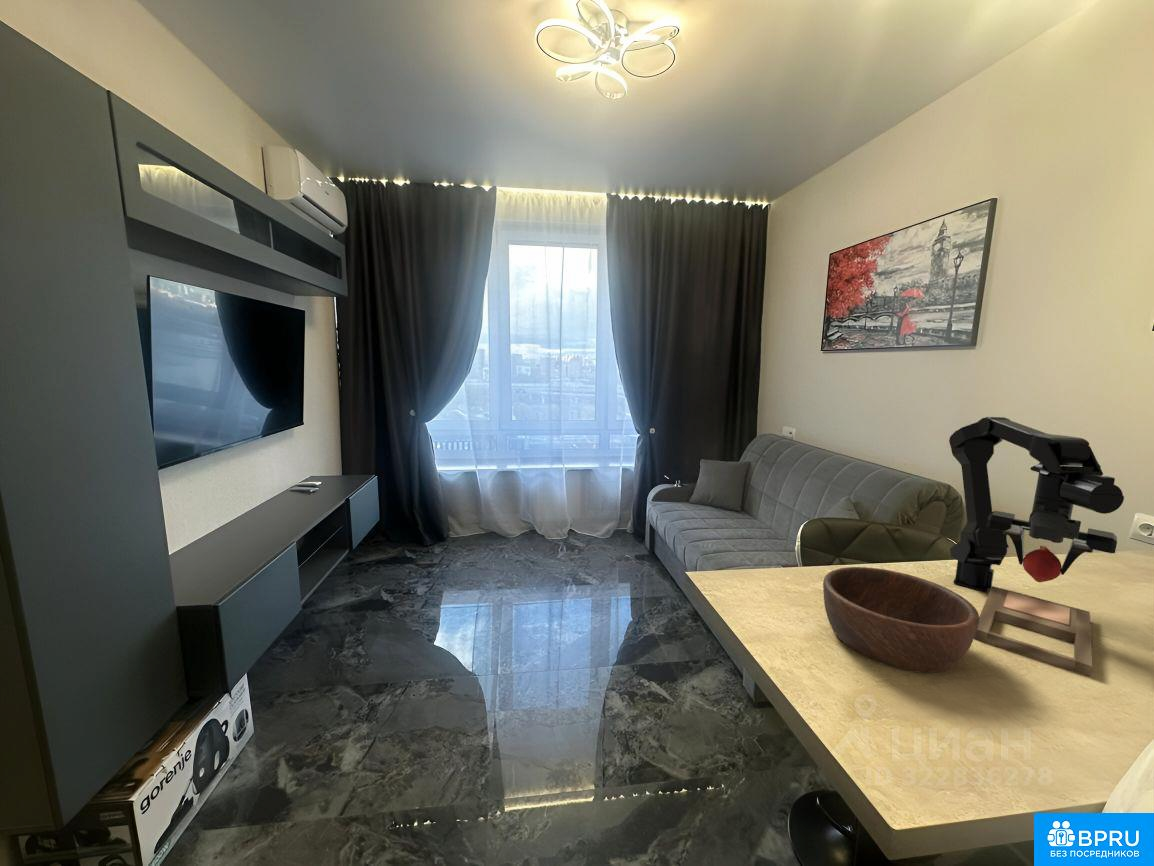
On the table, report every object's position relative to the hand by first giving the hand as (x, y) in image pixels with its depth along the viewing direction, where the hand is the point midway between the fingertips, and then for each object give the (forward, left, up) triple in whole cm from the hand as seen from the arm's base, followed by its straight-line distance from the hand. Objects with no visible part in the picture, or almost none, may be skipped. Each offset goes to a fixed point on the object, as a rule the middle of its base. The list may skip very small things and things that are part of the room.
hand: (1040, 569), depth 99 cm
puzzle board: (0, -3, -12) cm, 13 cm away
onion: (0, 0, -3) cm, 3 cm away
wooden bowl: (-19, -31, -12) cm, 39 cm away
